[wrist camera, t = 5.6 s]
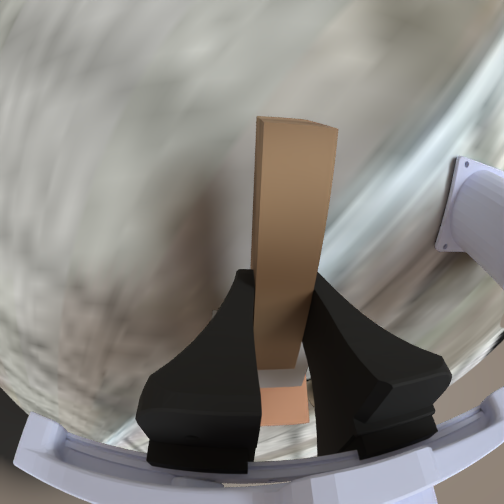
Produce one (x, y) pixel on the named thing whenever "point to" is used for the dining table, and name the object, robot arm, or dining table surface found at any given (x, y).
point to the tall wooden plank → (287, 239)
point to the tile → (284, 405)
